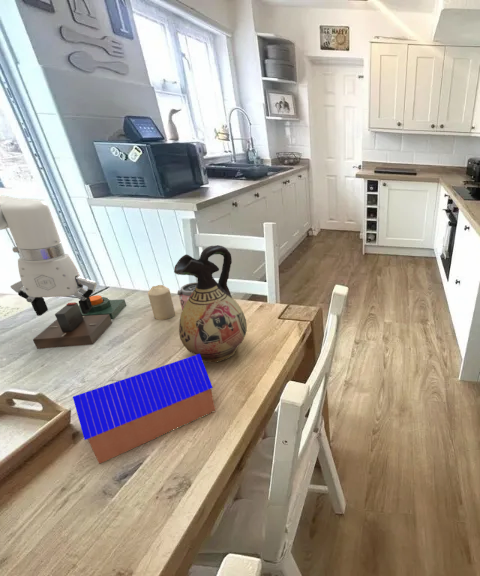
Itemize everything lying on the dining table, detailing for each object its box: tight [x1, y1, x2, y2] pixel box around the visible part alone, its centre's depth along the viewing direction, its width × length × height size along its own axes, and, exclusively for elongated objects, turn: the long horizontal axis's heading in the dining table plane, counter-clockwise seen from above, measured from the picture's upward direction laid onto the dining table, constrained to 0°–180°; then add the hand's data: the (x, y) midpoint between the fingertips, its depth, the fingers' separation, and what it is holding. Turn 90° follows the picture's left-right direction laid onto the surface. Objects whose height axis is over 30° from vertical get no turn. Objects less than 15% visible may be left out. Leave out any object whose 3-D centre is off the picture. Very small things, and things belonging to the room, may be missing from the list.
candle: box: [147, 284, 176, 321], centre depth 99 cm, size 6×6×10 cm
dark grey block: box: [54, 301, 84, 332], centre depth 87 cm, size 6×2×6 cm, turn 14°
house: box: [72, 354, 216, 464], centre depth 64 cm, size 12×20×12 cm, turn 132°
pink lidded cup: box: [176, 281, 198, 312], centre depth 97 cm, size 9×8×12 cm
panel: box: [32, 314, 113, 350], centre depth 89 cm, size 12×11×3 cm
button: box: [89, 294, 103, 305], centre depth 98 cm, size 4×4×2 cm
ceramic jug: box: [173, 244, 248, 363], centre depth 81 cm, size 17×15×30 cm
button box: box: [78, 296, 127, 321], centre depth 99 cm, size 11×9×4 cm
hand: (65, 312), depth 86 cm, fingers open, 9 cm apart
